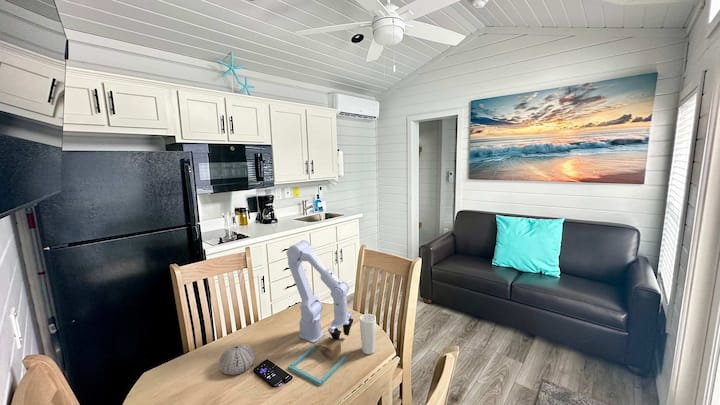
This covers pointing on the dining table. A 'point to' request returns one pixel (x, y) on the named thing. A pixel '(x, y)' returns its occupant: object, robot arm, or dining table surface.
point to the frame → (308, 376)
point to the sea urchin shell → (237, 359)
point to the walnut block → (330, 348)
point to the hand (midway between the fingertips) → (341, 339)
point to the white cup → (368, 333)
